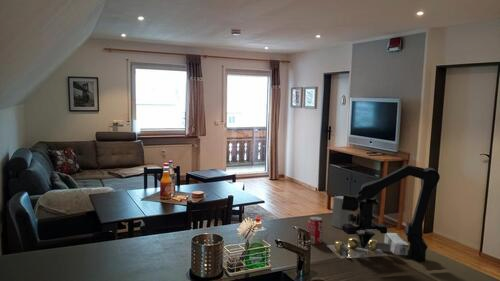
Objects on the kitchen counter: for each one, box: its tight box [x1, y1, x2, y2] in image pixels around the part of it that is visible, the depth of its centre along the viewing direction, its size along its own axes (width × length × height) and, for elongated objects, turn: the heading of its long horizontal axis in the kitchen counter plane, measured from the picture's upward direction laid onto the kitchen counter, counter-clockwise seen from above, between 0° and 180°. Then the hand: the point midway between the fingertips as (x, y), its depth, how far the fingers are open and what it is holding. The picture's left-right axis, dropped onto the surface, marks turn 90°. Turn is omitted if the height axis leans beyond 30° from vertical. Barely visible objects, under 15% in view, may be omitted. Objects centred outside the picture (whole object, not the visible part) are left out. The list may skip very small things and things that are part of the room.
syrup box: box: [383, 232, 409, 256], centre depth 164 cm, size 6×6×14 cm
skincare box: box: [331, 195, 353, 230], centre depth 194 cm, size 8×7×16 cm
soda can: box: [306, 215, 324, 245], centre depth 169 cm, size 7×7×12 cm
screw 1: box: [334, 240, 349, 256], centre depth 156 cm, size 9×4×4 cm, turn 12°
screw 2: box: [368, 238, 391, 252], centre depth 161 cm, size 9×4×4 cm, turn 68°
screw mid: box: [347, 236, 370, 250], centre depth 162 cm, size 9×4×4 cm, turn 61°
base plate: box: [326, 243, 389, 259], centre depth 160 cm, size 14×22×1 cm, turn 102°
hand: (363, 247), depth 159 cm, fingers closed
